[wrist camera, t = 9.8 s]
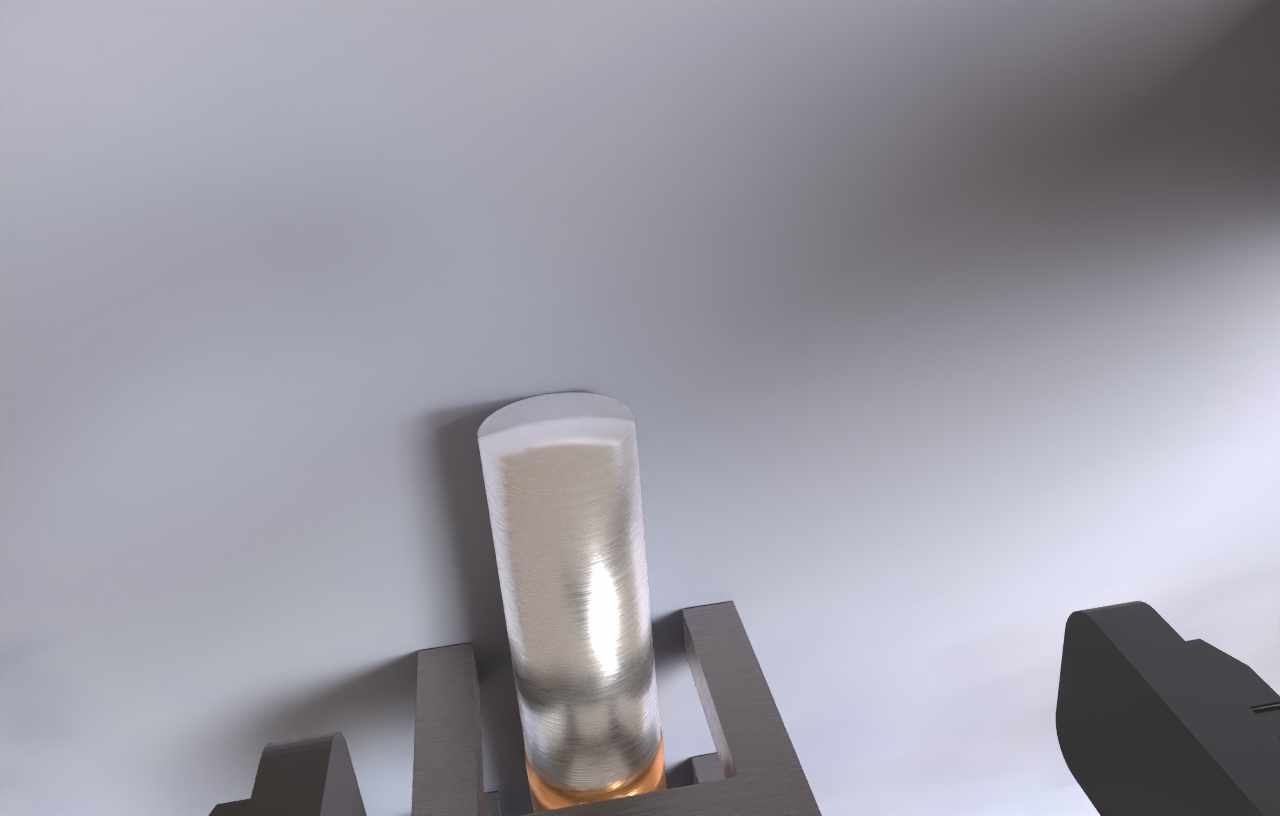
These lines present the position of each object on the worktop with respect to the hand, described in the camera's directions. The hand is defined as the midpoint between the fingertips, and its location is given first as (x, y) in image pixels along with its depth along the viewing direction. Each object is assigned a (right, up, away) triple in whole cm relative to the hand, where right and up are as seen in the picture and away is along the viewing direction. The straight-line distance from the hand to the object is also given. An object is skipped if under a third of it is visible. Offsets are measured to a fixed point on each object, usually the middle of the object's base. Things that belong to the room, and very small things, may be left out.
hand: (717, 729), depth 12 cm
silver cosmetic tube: (-2, -3, +20) cm, 21 cm away
